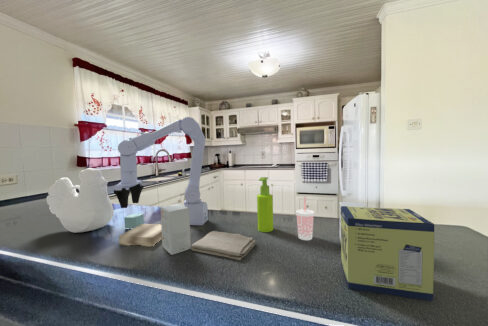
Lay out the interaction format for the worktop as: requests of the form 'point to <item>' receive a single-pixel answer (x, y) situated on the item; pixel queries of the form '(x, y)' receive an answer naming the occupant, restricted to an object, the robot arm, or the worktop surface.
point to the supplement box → (350, 204)
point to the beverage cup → (305, 222)
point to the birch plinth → (142, 235)
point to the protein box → (387, 251)
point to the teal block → (133, 220)
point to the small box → (175, 228)
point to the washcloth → (224, 245)
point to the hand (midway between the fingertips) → (130, 205)
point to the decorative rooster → (81, 202)
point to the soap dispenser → (265, 207)
